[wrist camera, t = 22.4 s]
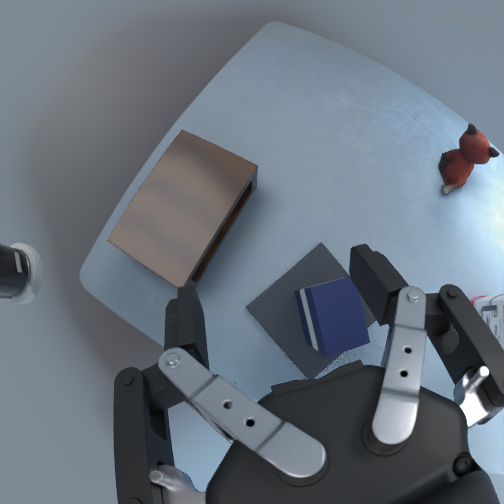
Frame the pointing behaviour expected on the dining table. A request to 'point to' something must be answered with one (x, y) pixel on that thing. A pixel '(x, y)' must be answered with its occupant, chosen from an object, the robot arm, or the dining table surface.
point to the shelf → (185, 209)
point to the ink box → (492, 314)
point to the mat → (287, 314)
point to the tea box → (332, 316)
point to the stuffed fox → (465, 158)
